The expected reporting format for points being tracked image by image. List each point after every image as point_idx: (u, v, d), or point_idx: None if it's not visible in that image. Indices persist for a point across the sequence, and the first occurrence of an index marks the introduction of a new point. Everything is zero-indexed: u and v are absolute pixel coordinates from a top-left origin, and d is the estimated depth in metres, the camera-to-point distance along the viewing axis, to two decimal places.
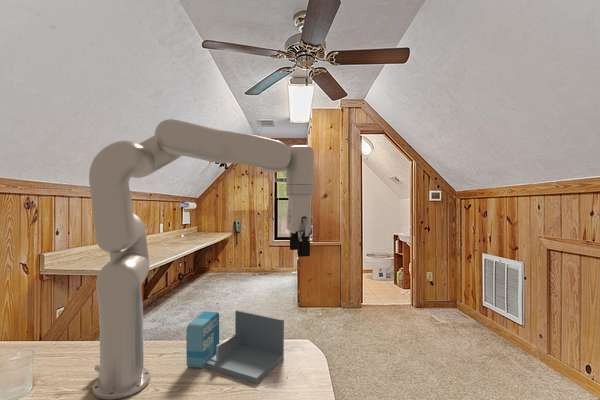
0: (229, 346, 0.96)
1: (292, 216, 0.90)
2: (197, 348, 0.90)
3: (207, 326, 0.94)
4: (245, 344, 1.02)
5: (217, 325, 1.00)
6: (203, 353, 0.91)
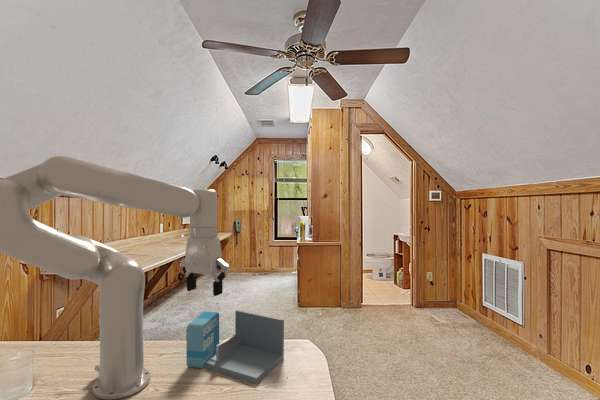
0: (229, 346, 0.96)
1: (205, 258, 0.92)
2: (197, 348, 0.90)
3: (207, 326, 0.94)
4: (245, 344, 1.02)
5: (217, 325, 1.00)
6: (203, 353, 0.91)
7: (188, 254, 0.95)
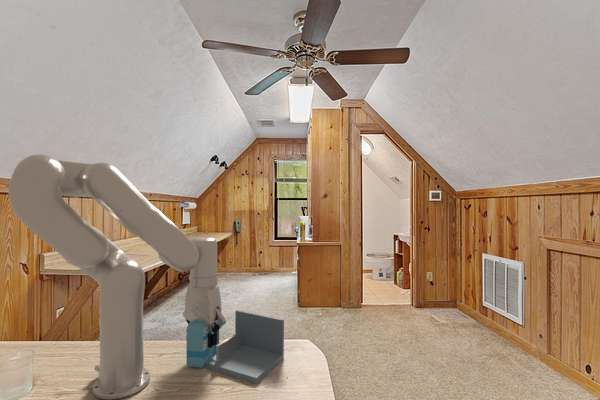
0: (229, 346, 0.96)
1: (205, 309, 0.92)
2: (197, 348, 0.90)
3: (207, 326, 0.94)
4: (245, 344, 1.02)
5: None
6: (203, 353, 0.91)
7: (188, 303, 0.95)
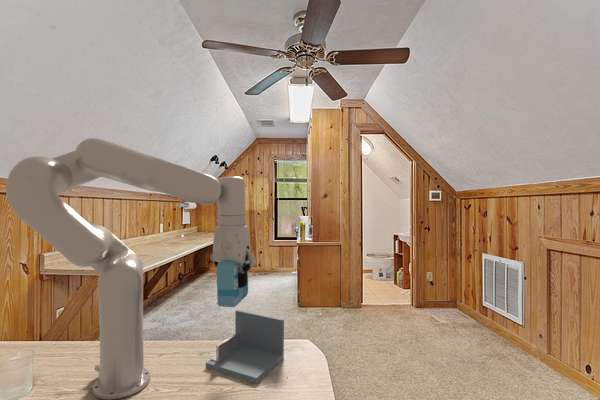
0: (229, 346, 0.96)
1: (235, 247, 0.90)
2: (228, 286, 0.88)
3: (237, 266, 0.92)
4: (245, 344, 1.02)
5: None
6: (234, 292, 0.89)
7: (216, 243, 0.93)
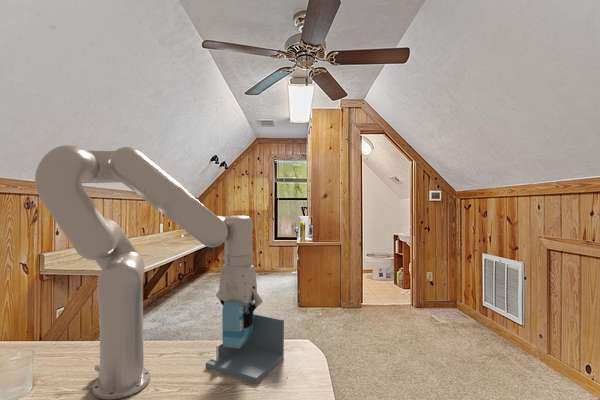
0: None
1: (241, 288, 0.90)
2: (233, 328, 0.88)
3: (243, 306, 0.91)
4: (245, 344, 1.02)
5: None
6: (239, 333, 0.89)
7: (222, 282, 0.93)
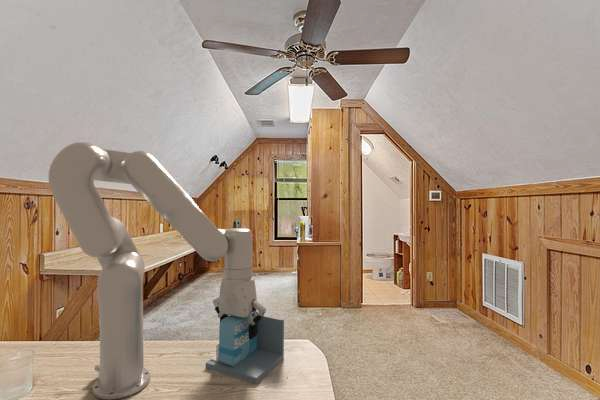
0: None
1: (241, 301, 0.90)
2: (228, 345, 0.89)
3: (241, 324, 0.91)
4: None
5: None
6: (234, 351, 0.89)
7: (222, 295, 0.93)
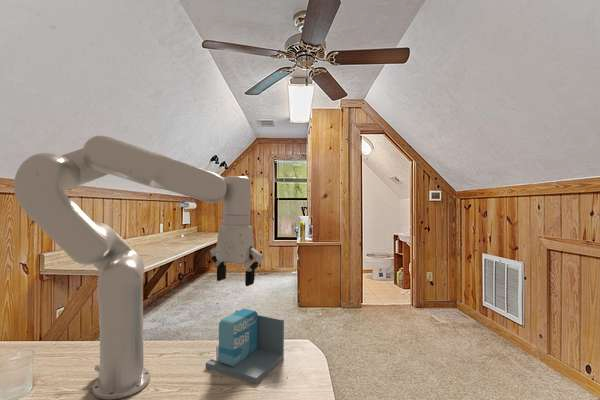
0: None
1: (238, 247, 0.90)
2: (227, 345, 0.89)
3: (240, 324, 0.91)
4: None
5: (254, 324, 0.97)
6: (234, 351, 0.89)
7: (220, 242, 0.92)
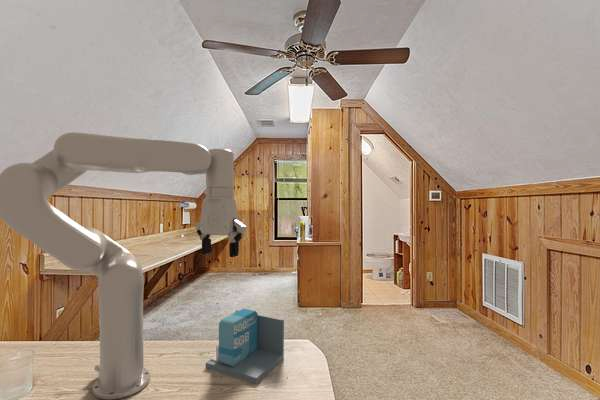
0: None
1: (222, 219, 0.90)
2: (227, 345, 0.89)
3: (240, 324, 0.91)
4: None
5: (254, 324, 0.97)
6: (234, 351, 0.89)
7: (204, 215, 0.93)
